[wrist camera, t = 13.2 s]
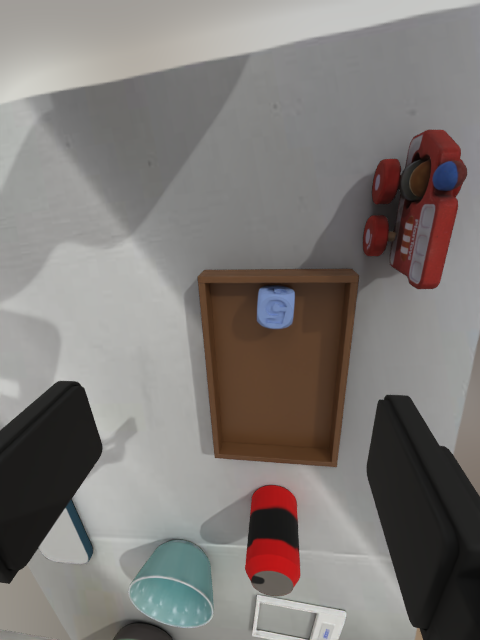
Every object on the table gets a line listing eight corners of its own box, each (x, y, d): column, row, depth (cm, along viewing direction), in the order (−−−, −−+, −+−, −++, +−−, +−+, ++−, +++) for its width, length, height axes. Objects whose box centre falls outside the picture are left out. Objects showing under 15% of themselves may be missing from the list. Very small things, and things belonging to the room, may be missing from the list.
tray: (204, 269, 37) (197, 276, 34) (352, 268, 34) (359, 275, 31) (218, 441, 47) (214, 458, 44) (333, 449, 45) (336, 467, 42)
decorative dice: (258, 314, 37) (256, 327, 33) (260, 284, 36) (257, 294, 32) (290, 317, 37) (291, 330, 33) (293, 286, 35) (295, 296, 31)
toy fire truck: (452, 139, 29) (539, 110, 19) (421, 267, 33) (477, 295, 24) (377, 140, 29) (424, 112, 20) (357, 264, 34) (386, 291, 25)
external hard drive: (98, 555, 64) (93, 566, 62) (51, 551, 66) (44, 561, 64) (64, 476, 55) (56, 485, 53) (10, 473, 57) (1, 483, 55)
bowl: (155, 573, 64) (138, 623, 56) (138, 524, 58) (117, 574, 51) (226, 579, 62) (218, 633, 54) (216, 530, 56) (206, 582, 48)
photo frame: (334, 653, 65) (252, 637, 67) (333, 646, 66) (252, 630, 68) (346, 618, 59) (256, 601, 61) (345, 611, 60) (257, 594, 62)
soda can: (255, 479, 49) (248, 561, 38) (300, 489, 49) (306, 574, 38) (249, 509, 52) (240, 592, 41) (291, 518, 52) (294, 605, 41)
